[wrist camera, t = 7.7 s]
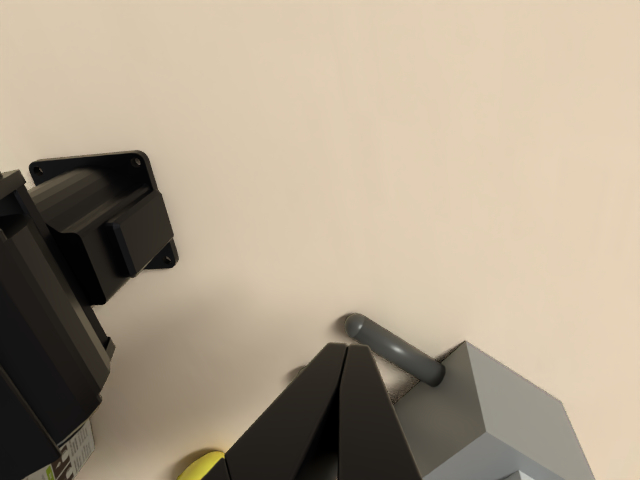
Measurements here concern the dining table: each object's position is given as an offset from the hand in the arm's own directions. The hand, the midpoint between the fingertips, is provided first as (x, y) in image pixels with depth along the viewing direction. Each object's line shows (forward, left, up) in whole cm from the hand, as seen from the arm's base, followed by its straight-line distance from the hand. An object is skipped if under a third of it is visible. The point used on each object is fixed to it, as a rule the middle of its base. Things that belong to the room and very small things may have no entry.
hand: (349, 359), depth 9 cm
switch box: (+1, -15, -13) cm, 20 cm away
